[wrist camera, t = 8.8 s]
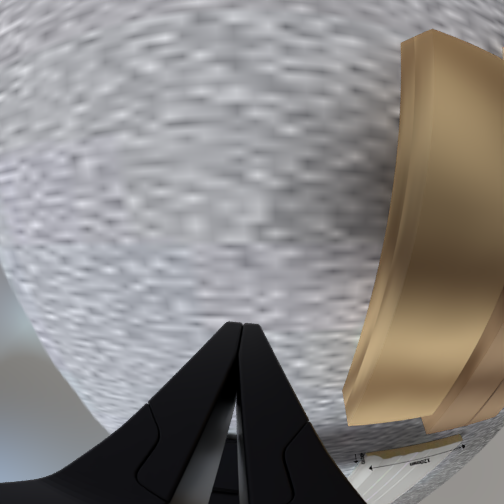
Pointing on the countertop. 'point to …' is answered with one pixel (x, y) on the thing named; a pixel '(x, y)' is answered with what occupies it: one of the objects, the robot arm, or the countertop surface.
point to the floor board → (476, 380)
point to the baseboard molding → (398, 469)
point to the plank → (435, 233)
